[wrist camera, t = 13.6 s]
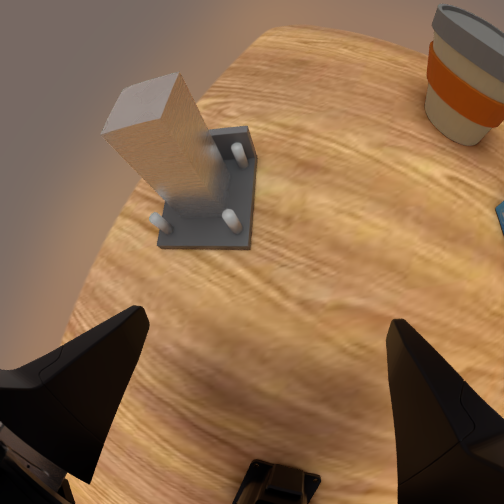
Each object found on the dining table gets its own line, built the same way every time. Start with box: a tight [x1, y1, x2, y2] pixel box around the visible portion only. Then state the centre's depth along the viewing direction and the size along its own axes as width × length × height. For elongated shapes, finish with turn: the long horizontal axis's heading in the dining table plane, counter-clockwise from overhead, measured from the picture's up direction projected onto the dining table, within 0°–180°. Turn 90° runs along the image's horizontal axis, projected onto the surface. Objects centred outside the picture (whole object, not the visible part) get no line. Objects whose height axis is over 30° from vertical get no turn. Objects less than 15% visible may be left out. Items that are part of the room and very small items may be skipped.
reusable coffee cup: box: [425, 4, 504, 146], centre depth 17 cm, size 13×13×15 cm
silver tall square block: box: [101, 72, 231, 218], centre depth 20 cm, size 4×4×13 cm
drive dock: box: [149, 126, 257, 250], centre depth 24 cm, size 10×9×5 cm
